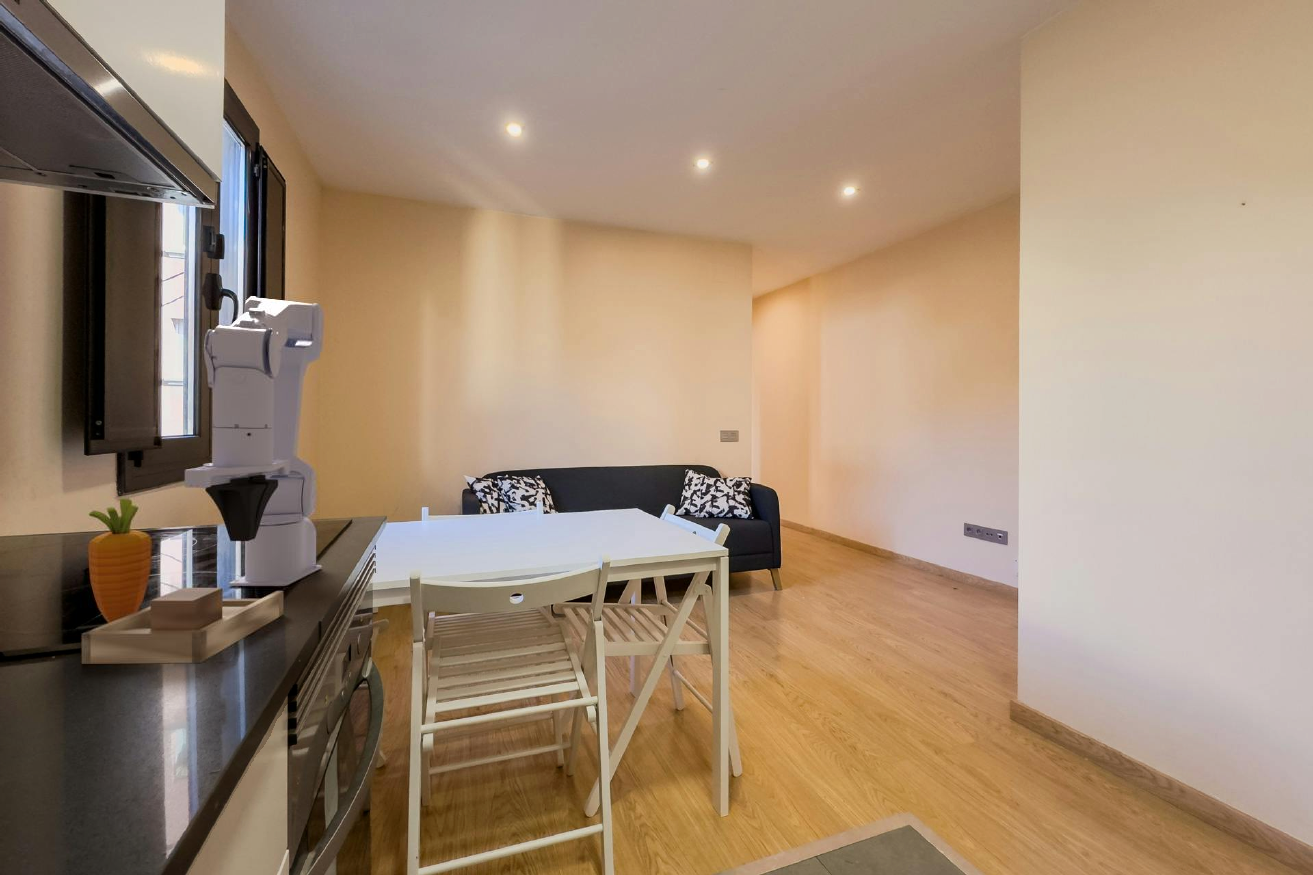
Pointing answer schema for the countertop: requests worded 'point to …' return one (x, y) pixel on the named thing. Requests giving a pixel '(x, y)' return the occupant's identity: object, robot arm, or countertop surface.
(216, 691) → the countertop surface
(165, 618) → the block
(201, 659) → the tray box
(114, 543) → the carrot
